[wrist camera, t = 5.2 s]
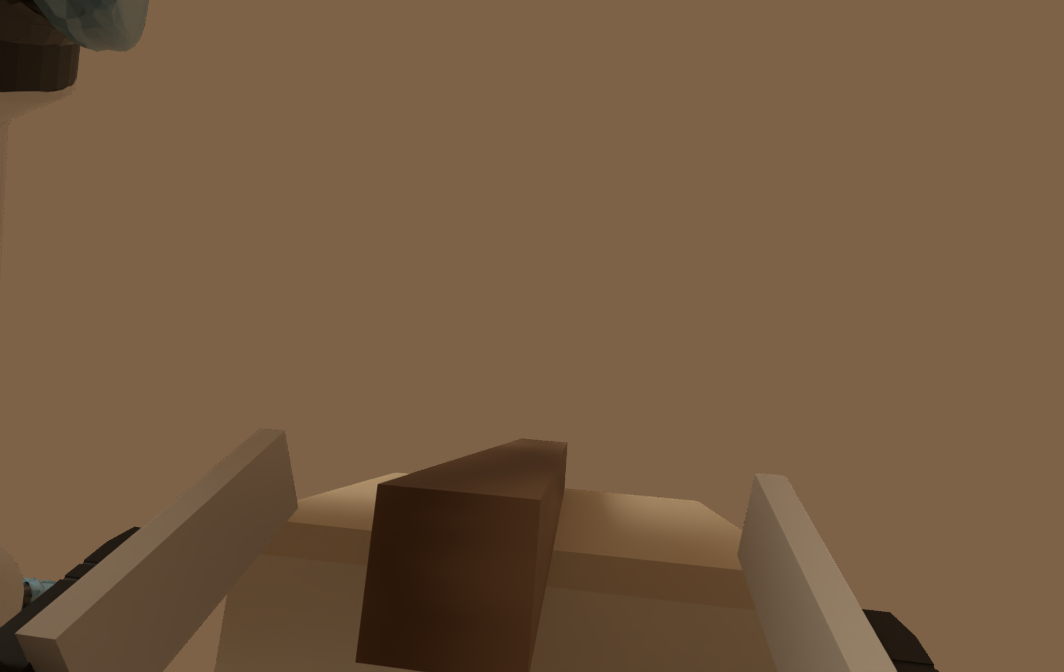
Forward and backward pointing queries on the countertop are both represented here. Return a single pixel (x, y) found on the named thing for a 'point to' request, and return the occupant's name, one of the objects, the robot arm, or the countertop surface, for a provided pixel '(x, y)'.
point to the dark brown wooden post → (463, 561)
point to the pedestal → (569, 601)
